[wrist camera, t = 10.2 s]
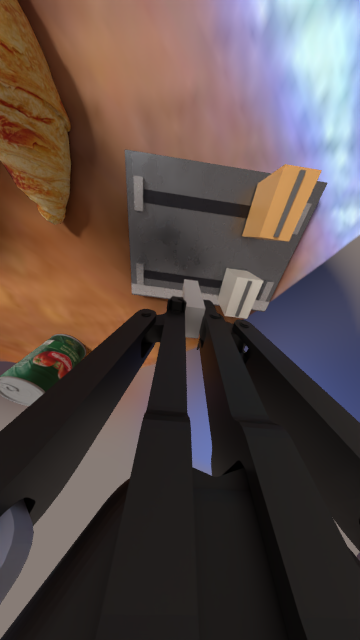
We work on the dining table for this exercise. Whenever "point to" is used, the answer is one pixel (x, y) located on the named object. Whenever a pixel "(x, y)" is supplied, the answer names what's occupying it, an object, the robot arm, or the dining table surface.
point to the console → (199, 227)
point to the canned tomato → (41, 369)
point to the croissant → (32, 117)
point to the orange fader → (280, 203)
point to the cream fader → (238, 292)
